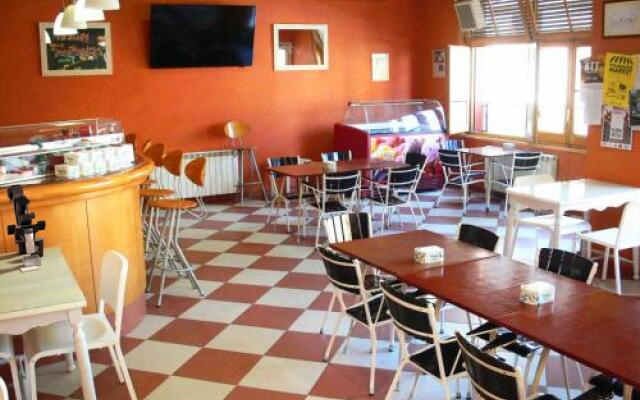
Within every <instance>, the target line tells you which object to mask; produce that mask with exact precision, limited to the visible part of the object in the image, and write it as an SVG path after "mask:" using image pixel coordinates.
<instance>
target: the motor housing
mask: <svg viewBox="0 0 640 400" xmlns="http://www.w3.org/2000/svg"><path fill="white" fill-rule="evenodd" d="M21 259H22V263H23V266H24V267H29V266H36V267H38V266H42V257H40V256H39V255H38V254H37V255H31V256H30V255H27V256H22V258H21Z"/></svg>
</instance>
